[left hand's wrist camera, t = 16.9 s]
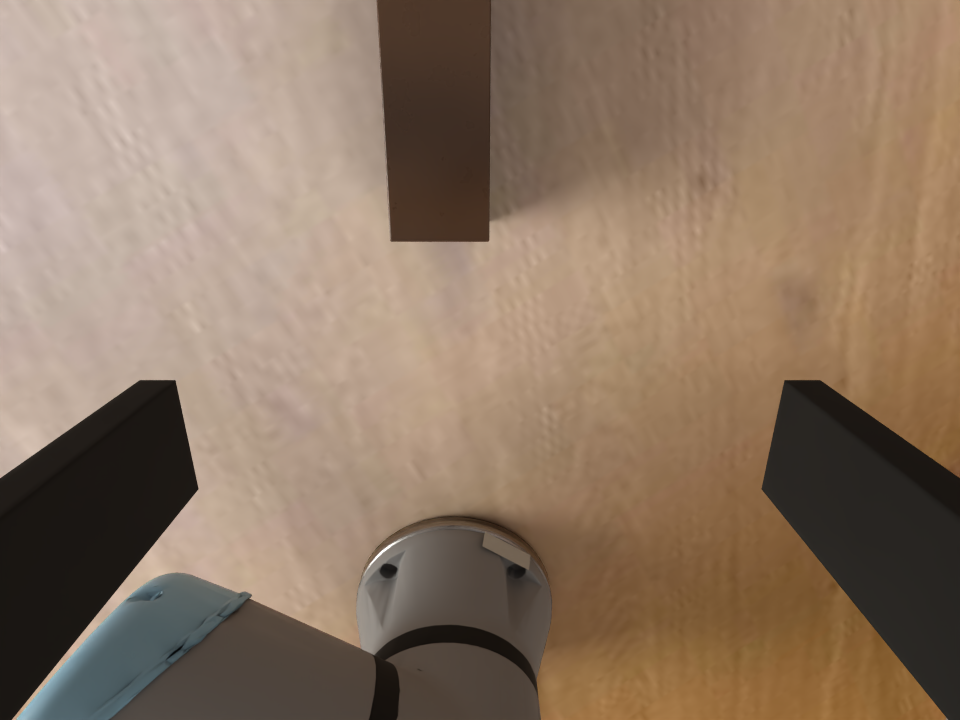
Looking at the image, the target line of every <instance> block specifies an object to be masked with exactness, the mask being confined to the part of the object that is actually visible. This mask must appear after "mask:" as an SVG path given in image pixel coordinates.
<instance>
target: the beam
mask: <svg viewBox="0 0 960 720" xmlns="http://www.w3.org/2000/svg"><path fill="white" fill-rule="evenodd" d="M377 13H378V31H379V49H380V67H381V85H382V103H383V121H384V138H385V156H386V174H387V192H388V210H389V228H390V241H391V242H488V241H489V196H490V50H491V0H377Z"/></svg>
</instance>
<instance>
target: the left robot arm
mask: <svg viewBox="0 0 960 720" xmlns="http://www.w3.org/2000/svg"><path fill="white" fill-rule="evenodd" d="M197 490H198V485H197V480H196V475H195V471H194V466H193V461H192V456H191V452H190V447H189V442H188V438H187V433H186V428H185V423H184V419H183V414H182V409H181V405H180V400H179V395H178V390H177V386H176V381H175V380H140V381H138V382H137V383H135V384H134V385H132V386H131V387H130V388H128V389H127V390H125V391H124V392H123V393H121V394H120V395H118V396H117V397H115V398H114V399H113V400H111V401H110V402H108V403H107V404H105V405H104V406H103V407H101V408H100V409H98V410H97V411H95V412H94V413H93V414H91V415H90V416H88V417H87V418H85V419H84V420H83V421H81V422H80V423H78V424H77V425H76V426H74V427H73V428H71V429H70V430H68V431H67V432H66V433H64V434H63V435H61V436H60V437H58V438H57V439H56V440H54V441H53V442H51V443H50V444H48V445H47V446H46V447H44V448H43V449H41V450H40V451H39V452H37V453H36V454H34V455H33V456H31V457H30V458H29V459H27V460H26V461H24V462H23V463H21V464H20V465H19V466H17V467H16V468H14V469H13V470H11V471H10V472H9V473H7V474H6V475H4V476H3V477H1V478H0V720H12V719H13V717H14V716H15V715H16V714H17V713H18V711H19V710H20V709H21V708H22V706H23V705H24V704H25V703H26V701H27V700H28V699H29V698H30V696H31V695H32V694H33V693H34V692H35V690H36V689H37V688H38V687H39V685H40V684H41V683H42V682H43V680H44V679H45V678H46V677H47V675H48V674H49V673H50V672H51V671H52V669H53V668H54V667H55V666H56V664H57V663H58V662H59V661H60V659H61V658H62V657H63V656H64V654H65V653H66V652H67V651H68V650H69V648H70V647H71V646H72V645H73V643H74V642H75V641H76V640H77V638H78V637H79V636H80V635H81V633H82V632H83V631H84V630H85V629H86V627H87V626H88V625H89V624H90V622H91V621H92V620H93V619H94V617H95V616H96V615H97V614H98V613H99V611H100V610H101V609H102V608H103V606H104V605H105V604H106V603H107V601H108V600H109V599H110V598H111V596H112V595H113V594H114V593H115V592H116V590H117V589H118V588H119V587H120V585H121V584H122V583H123V582H124V580H125V579H126V578H127V577H128V575H129V574H130V573H131V572H132V571H133V569H134V568H135V567H136V566H137V564H138V563H139V562H140V561H141V559H142V558H143V557H144V556H145V554H146V553H147V552H148V551H149V550H150V548H151V547H152V546H153V545H154V543H155V542H156V541H157V540H158V538H159V537H160V536H161V535H162V533H163V532H164V531H165V530H166V529H167V527H168V526H169V525H170V524H171V522H172V521H173V520H174V519H175V517H176V516H177V515H178V514H179V512H180V511H181V510H182V509H183V508H184V506H185V505H186V504H187V503H188V501H189V500H190V499H191V498H192V496H193V495H194V494H195V493H196V491H197ZM762 490H763V491H764V493H765V494H766V495H767V496H768V498H769V499H770V500H771V501H772V503H773V504H774V505H775V506H776V508H777V509H778V510H779V511H780V512H781V514H782V515H783V516H784V517H785V519H786V520H787V521H788V522H789V524H790V525H791V526H792V527H793V529H794V530H795V531H796V532H797V533H798V535H799V536H800V537H801V538H802V540H803V541H804V542H805V543H806V545H807V546H808V547H809V548H810V550H811V551H812V552H813V553H814V554H815V556H816V557H817V558H818V559H819V561H820V562H821V563H822V564H823V566H824V567H825V568H826V569H827V571H828V572H829V573H830V574H831V575H832V577H833V578H834V579H835V580H836V582H837V583H838V584H839V585H840V587H841V588H842V589H843V590H844V592H845V593H846V594H847V595H848V596H849V598H850V599H851V600H852V601H853V603H854V604H855V605H856V606H857V608H858V609H859V610H860V611H861V613H862V614H863V615H864V616H865V617H866V619H867V620H868V621H869V622H870V624H871V625H872V626H873V627H874V629H875V630H876V631H877V632H878V634H879V635H880V636H881V637H882V638H883V640H884V641H885V642H886V643H887V645H888V646H889V647H890V648H891V650H892V651H893V652H894V653H895V654H896V656H897V657H898V658H899V659H900V661H901V662H902V663H903V664H904V666H905V667H906V668H907V669H908V671H909V672H910V673H911V674H912V675H913V677H914V678H915V679H916V680H917V682H918V683H919V684H920V685H921V687H922V688H923V689H924V690H925V692H926V693H927V694H928V695H929V696H930V698H931V699H932V700H933V701H934V703H935V704H936V705H937V706H938V708H939V709H940V710H941V711H942V713H943V714H944V715H945V716H946V717H947V719H948V720H960V478H959V477H957V476H956V475H954V474H953V473H951V472H950V471H949V470H947V469H946V468H944V467H943V466H941V465H940V464H939V463H937V462H936V461H934V460H933V459H931V458H930V457H929V456H927V455H926V454H924V453H923V452H921V451H920V450H919V449H917V448H916V447H914V446H913V445H912V444H910V443H909V442H907V441H906V440H904V439H903V438H902V437H900V436H899V435H897V434H896V433H894V432H893V431H892V430H890V429H889V428H887V427H886V426H884V425H883V424H882V423H880V422H879V421H877V420H876V419H875V418H873V417H872V416H870V415H869V414H867V413H866V412H865V411H863V410H862V409H860V408H859V407H857V406H856V405H855V404H853V403H852V402H850V401H849V400H847V399H846V398H845V397H843V396H842V395H840V394H839V393H837V392H836V391H835V390H833V389H832V388H830V387H829V386H828V385H826V384H825V383H823V382H822V381H820V380H785V381H784V386H783V390H782V395H781V400H780V405H779V409H778V414H777V419H776V423H775V428H774V433H773V438H772V442H771V447H770V452H769V456H768V461H767V466H766V471H765V475H764V480H763V485H762ZM251 596H252V594H250V593H247V592H241V593H237V592H234V591H232V590H229V589H226V588H224V587H221V586H219V585H216V584H213V583H211V582H208V581H206V580H203V579H200V578H198V577H195V576H193V575H189V574H185V573H170V574H165V575H162V576H159V577H157V578H154V579H152V580H150V581H149V582H147V583H146V584H144V585H143V586H141V587H140V588H138V589H137V590H136V591H135V592H134V593H132V594H131V595H130V596H129V597H128V598H127V599H126V600H125V601H123V602H122V603H121V604H120V605H119V606H118V607H117V608H116V609H115V610H114V611H113V612H112V613H111V614H110V615H109V616H108V617H107V618H106V619H105V620H104V621H103V622H102V623H101V624H100V625H99V626H98V627H97V629H96V630H95V631H94V632H93V633H92V634H91V635H90V636H89V637H88V638H87V639H86V640H85V641H84V642H83V643H82V645H81V646H80V647H79V648H78V649H77V650H76V651H75V652H74V653H73V654H72V656H71V657H70V658H69V659H68V660H67V661H66V662H65V663H64V664H63V665H62V667H61V668H60V669H59V670H58V671H57V672H56V673H55V674H54V676H53V677H52V678H51V679H50V680H49V681H48V683H47V684H46V685H45V686H44V687H43V688H42V689H41V691H40V692H39V693H38V694H37V695H36V696H35V698H34V699H33V700H32V701H31V702H30V704H29V705H28V706H27V707H26V708H25V709H24V711H23V712H22V713H21V714H20V715H19V717H18V718H17V719H16V720H541V716H540V708H539V700H538V691H537V675H538V671H539V668H540V664H541V660H542V656H543V652H544V648H545V644H546V640H547V636H548V632H549V628H550V624H551V614H552V598H551V591H550V585H549V579H548V576H547V572H546V570H545V567H544V565H543V564H542V562H541V560H540V558H539V557H538V556H537V554H536V553H535V552H534V550H533V549H532V548H531V547H530V546H529V545H528V544H527V543H526V542H525V541H523V540H522V539H521V538H519V537H518V536H517V535H515V534H514V533H512V532H510V531H509V530H507V529H505V528H503V527H500V526H498V525H495V524H493V523H490V522H486V521H483V520H478V519H473V518H465V517H442V518H434V519H429V520H424V521H421V522H418V523H414V524H412V525H409V526H407V527H405V528H403V529H401V530H399V531H397V532H396V533H394V534H393V535H391V536H390V537H388V538H387V539H386V540H385V541H383V542H382V543H381V544H380V545H379V546H378V547H377V549H376V550H375V551H374V552H373V553H372V555H371V556H370V558H369V559H368V561H367V563H366V565H365V568H364V570H363V573H362V577H361V580H360V584H359V588H358V593H357V606H356V615H357V623H358V630H359V637H360V644H361V649H360V648H358V647H356V646H354V645H351V644H349V643H347V642H345V641H342V640H340V639H338V638H336V637H333V636H331V635H329V634H327V633H325V632H322V631H320V630H318V629H316V628H313V627H311V626H309V625H307V624H305V623H302V622H300V621H298V620H296V619H293V618H291V617H289V616H287V615H284V614H282V613H280V612H278V611H276V610H273V609H271V608H269V607H267V606H264V605H262V604H260V603H258V602H255V601H253V600H251V599H249V598H251Z"/></svg>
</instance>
